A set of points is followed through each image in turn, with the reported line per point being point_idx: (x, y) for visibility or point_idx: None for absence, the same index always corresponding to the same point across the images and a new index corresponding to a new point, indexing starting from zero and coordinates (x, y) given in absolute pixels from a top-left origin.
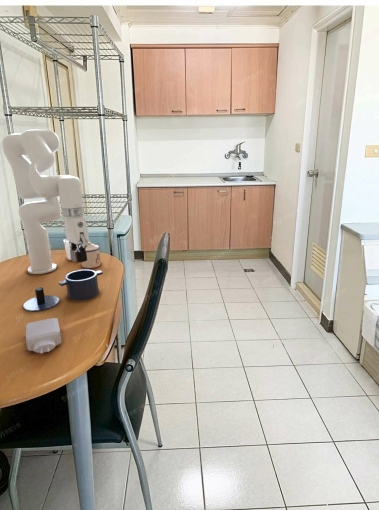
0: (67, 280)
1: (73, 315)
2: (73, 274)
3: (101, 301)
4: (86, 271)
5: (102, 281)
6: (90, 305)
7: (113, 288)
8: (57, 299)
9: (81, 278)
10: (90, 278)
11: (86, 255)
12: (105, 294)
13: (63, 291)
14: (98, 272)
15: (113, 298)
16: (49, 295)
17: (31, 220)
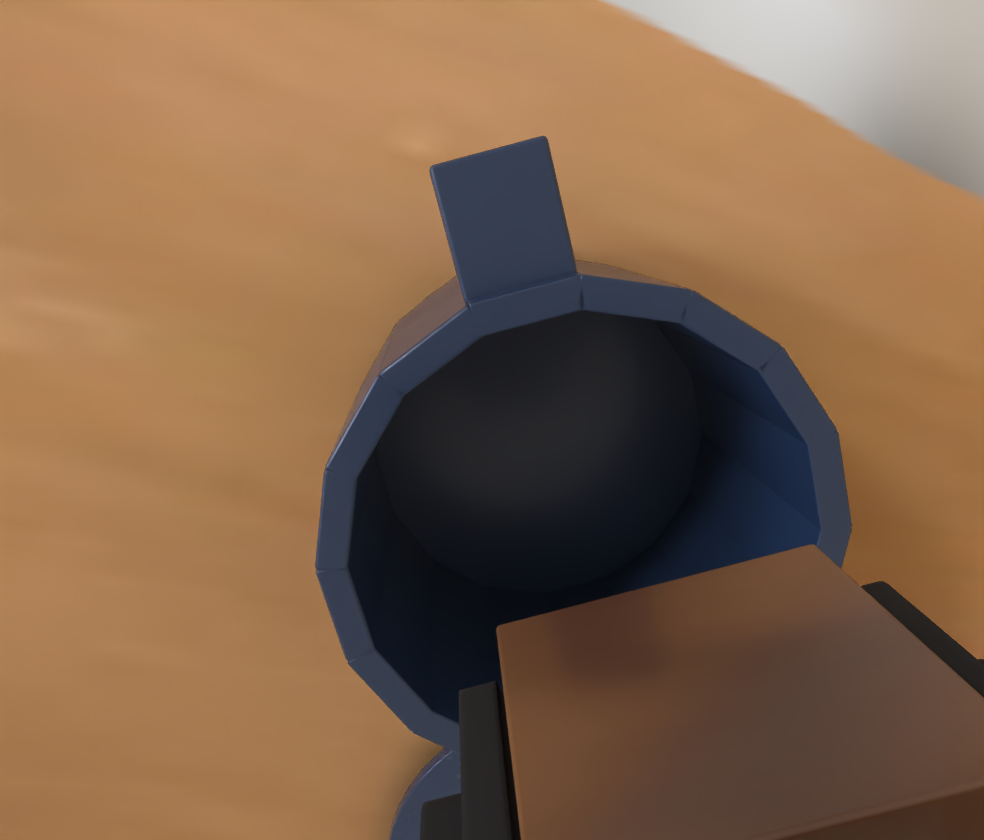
0: None
1: (953, 610)
2: (376, 622)
3: (822, 288)
4: (391, 416)
5: (183, 100)
6: (845, 423)
7: (525, 26)
8: None
9: (366, 470)
10: (836, 437)
11: (898, 629)
12: (658, 189)
13: (300, 626)
14: (541, 219)
15: (831, 128)
16: (418, 788)
17: None
